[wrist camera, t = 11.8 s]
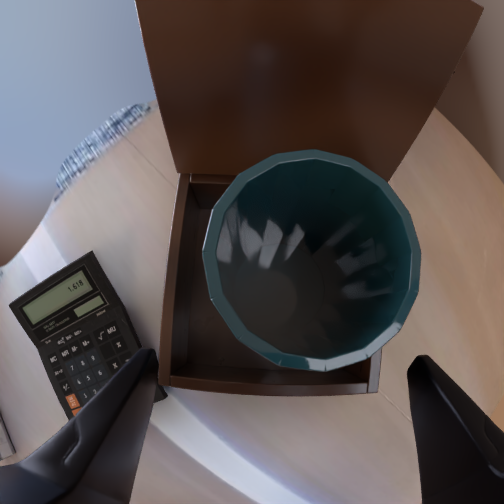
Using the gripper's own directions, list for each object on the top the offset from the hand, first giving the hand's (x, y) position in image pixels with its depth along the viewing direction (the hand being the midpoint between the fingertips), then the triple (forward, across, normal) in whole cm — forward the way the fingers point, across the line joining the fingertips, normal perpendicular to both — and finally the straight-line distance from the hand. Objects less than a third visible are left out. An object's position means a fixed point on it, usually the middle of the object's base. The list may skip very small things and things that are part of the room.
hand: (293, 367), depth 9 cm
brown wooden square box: (+10, 0, +6) cm, 12 cm away
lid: (+7, 0, -8) cm, 10 cm away
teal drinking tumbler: (+10, 0, +5) cm, 11 cm away
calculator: (+7, +14, +10) cm, 18 cm away
